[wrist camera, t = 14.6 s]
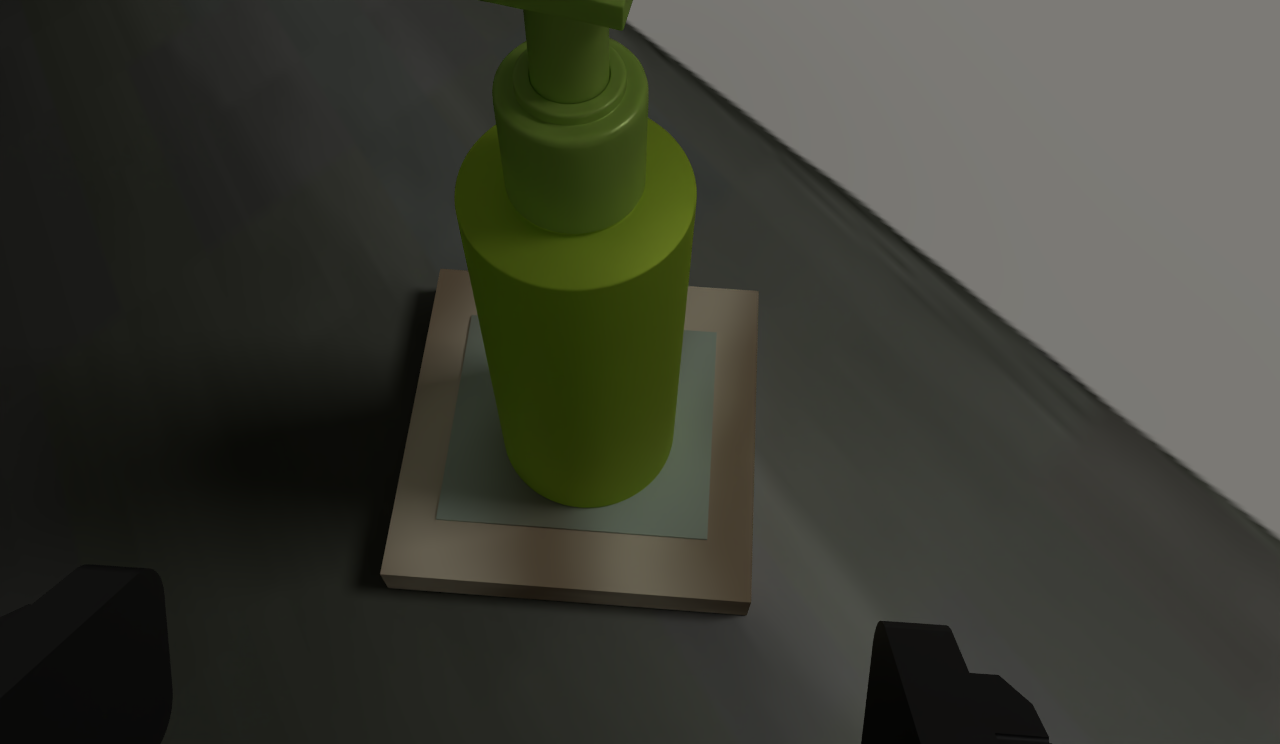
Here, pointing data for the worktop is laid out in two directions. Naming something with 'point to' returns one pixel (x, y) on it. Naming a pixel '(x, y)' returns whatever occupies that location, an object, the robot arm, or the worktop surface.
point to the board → (572, 536)
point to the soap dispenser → (579, 257)
